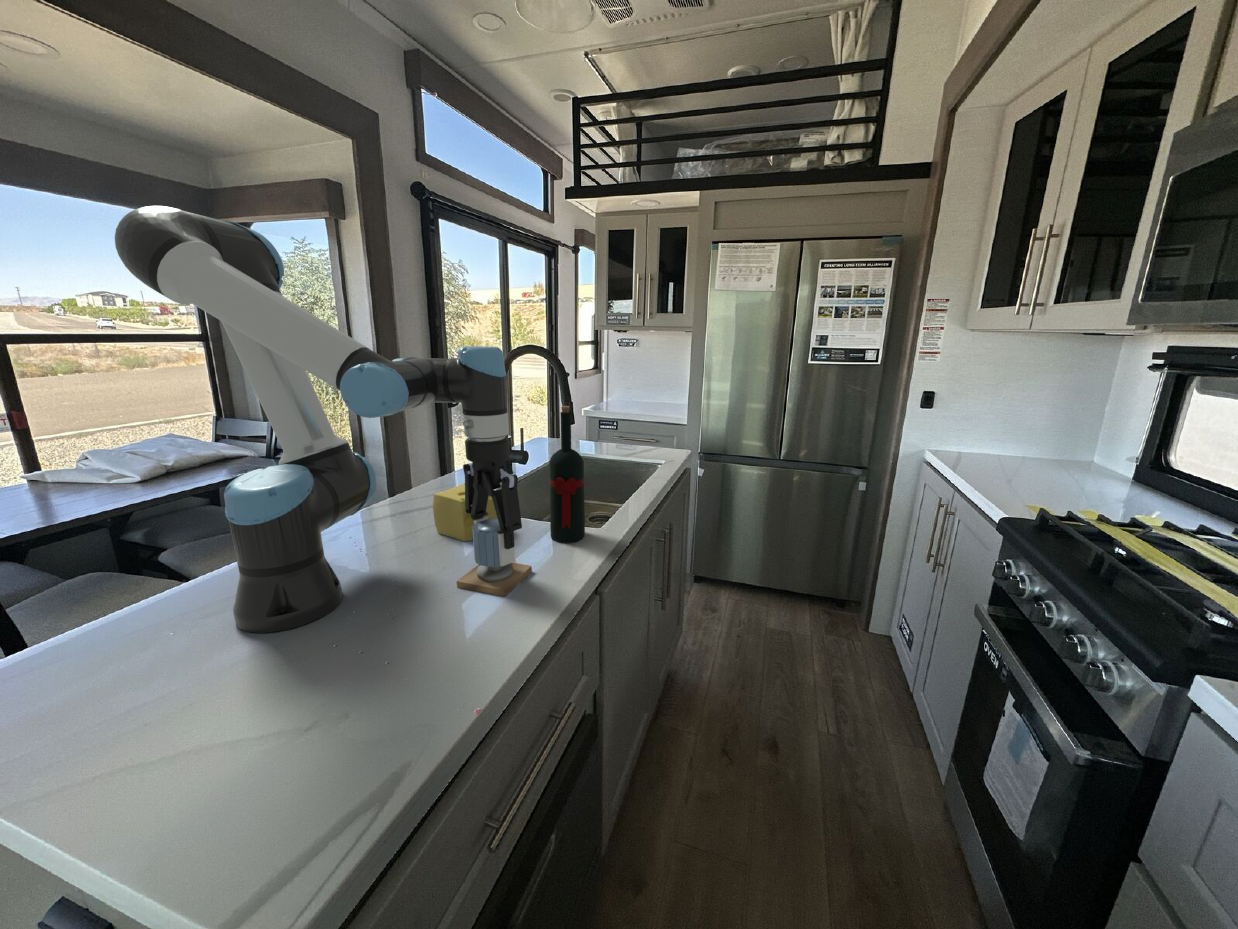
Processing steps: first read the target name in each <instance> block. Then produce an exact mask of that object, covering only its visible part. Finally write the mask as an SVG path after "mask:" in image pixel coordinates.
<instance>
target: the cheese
mask: <svg viewBox="0 0 1238 929" xmlns="http://www.w3.org/2000/svg"><path fill="white" fill-rule="evenodd" d="M471 506H472V505H471ZM432 511H433V512H432V513H433V520H434V525H435V528H436V533H438V534H441V535H443V536H447V537H450V538H453V539H456V540H459V541H462V542H469V541H472V540H473V531H472V527H473V525H474V522H473V519H472V518H471V514H470V513H469V514H467V513H466V511H465V482H463V483H461V484H459V485H456V486H454V487H451V488H449V489H445V490H442V491H438V492H435V493H433V501H432ZM486 512H487V514H488V515H486V516H483V518H484V517H488V519H497V515H496V511H495V507H494V504H493V500H492V497H491V496H488V502H487V507H486Z"/></svg>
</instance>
